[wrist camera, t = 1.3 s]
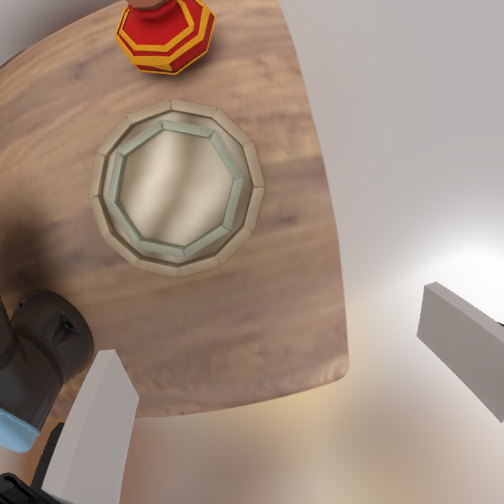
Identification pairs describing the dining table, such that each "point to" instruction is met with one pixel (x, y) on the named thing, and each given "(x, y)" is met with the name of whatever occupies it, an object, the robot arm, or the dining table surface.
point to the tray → (176, 188)
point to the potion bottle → (165, 33)
